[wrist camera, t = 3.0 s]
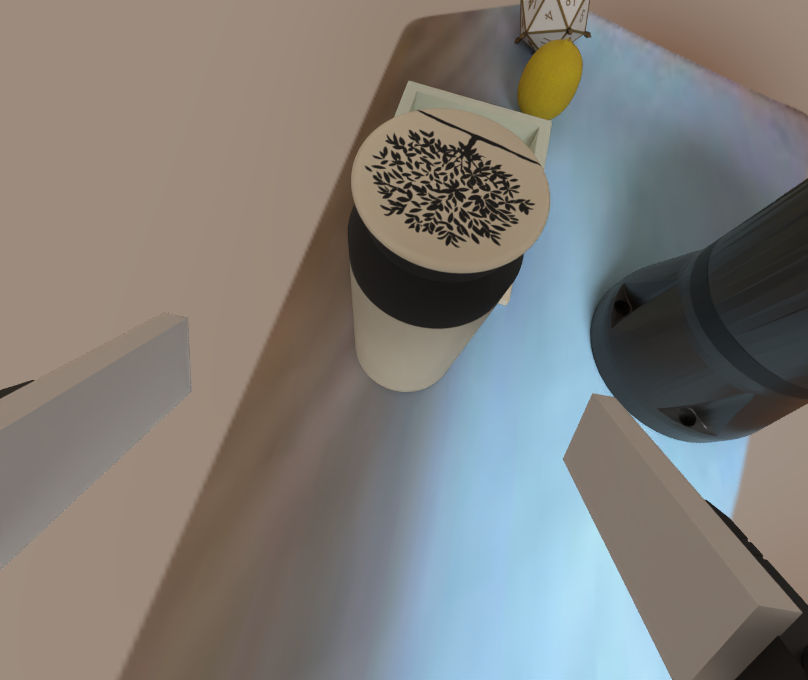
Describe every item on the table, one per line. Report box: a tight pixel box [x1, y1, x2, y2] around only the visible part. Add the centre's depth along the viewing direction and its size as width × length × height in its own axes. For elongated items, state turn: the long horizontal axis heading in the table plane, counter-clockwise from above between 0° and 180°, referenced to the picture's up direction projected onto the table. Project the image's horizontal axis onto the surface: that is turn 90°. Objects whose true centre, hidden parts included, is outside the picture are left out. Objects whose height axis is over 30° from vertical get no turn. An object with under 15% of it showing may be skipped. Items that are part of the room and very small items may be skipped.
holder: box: [394, 81, 552, 306], centre depth 33 cm, size 18×14×6 cm
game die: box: [514, 0, 591, 51], centre depth 42 cm, size 9×8×10 cm
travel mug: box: [348, 108, 550, 392], centre depth 22 cm, size 8×8×18 cm
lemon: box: [517, 39, 583, 120], centre depth 37 cm, size 6×6×8 cm
